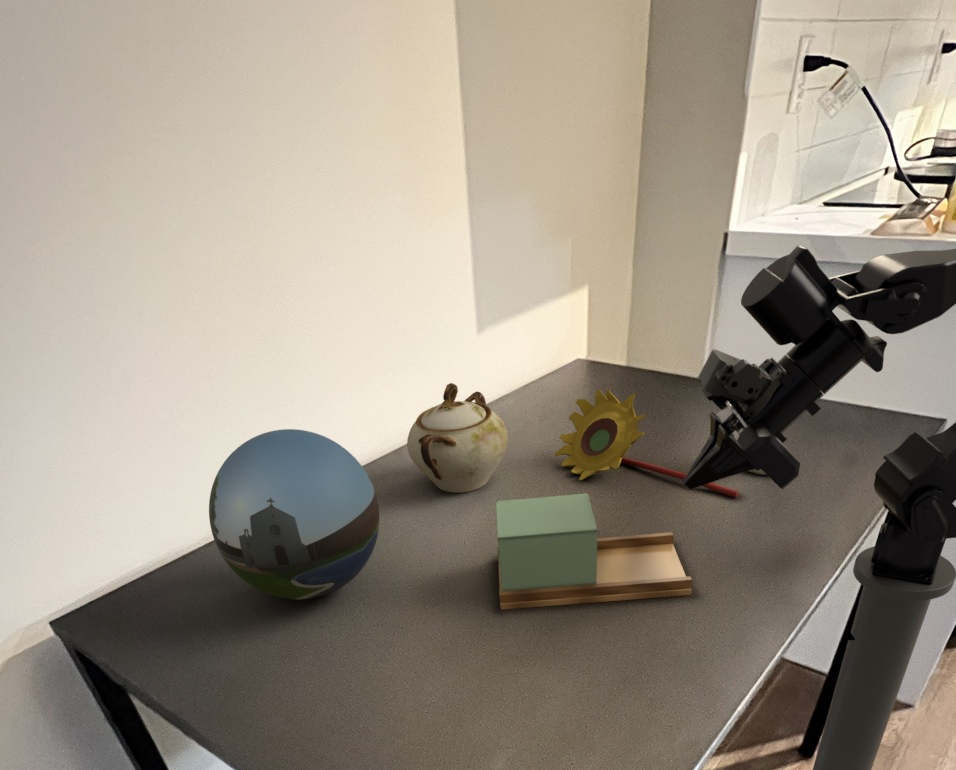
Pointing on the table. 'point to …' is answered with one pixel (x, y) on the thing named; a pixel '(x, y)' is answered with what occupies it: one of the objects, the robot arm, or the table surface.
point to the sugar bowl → (458, 442)
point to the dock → (616, 575)
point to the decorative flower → (609, 439)
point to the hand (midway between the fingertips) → (686, 485)
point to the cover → (546, 542)
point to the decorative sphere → (294, 514)
